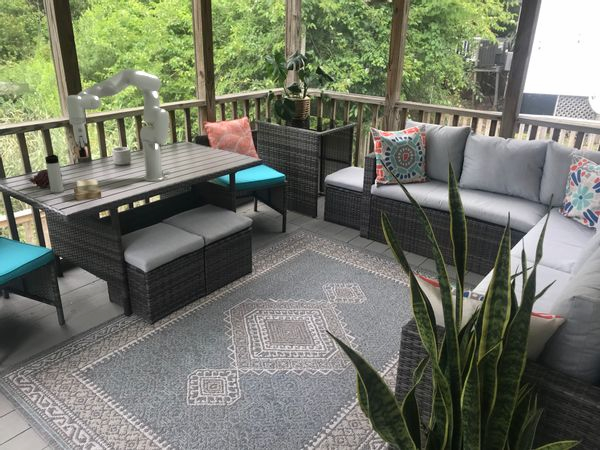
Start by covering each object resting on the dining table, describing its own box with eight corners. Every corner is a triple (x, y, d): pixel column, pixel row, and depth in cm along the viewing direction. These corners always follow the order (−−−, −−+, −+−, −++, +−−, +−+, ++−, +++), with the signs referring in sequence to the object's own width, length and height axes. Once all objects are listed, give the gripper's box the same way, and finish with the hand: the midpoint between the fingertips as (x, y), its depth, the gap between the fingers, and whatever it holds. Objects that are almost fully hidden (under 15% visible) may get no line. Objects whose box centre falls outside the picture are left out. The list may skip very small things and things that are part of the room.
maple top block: (97, 186, 264) (96, 179, 262) (98, 191, 255) (97, 184, 254) (77, 187, 260) (76, 180, 258) (78, 193, 251) (77, 186, 250)
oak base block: (98, 192, 266) (97, 185, 265) (101, 198, 257) (100, 191, 255) (74, 195, 261) (73, 188, 259) (77, 201, 251) (76, 194, 250)
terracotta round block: (87, 155, 254) (86, 145, 252) (89, 157, 249) (87, 148, 248) (76, 156, 251) (74, 146, 250) (77, 158, 247) (75, 149, 245)
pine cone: (59, 181, 281) (56, 164, 277) (67, 185, 275) (65, 168, 271) (27, 188, 268) (24, 170, 264) (35, 192, 262) (32, 174, 258)
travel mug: (66, 190, 267) (60, 154, 259) (61, 193, 261) (54, 157, 253) (54, 189, 266) (48, 154, 259) (49, 193, 260) (42, 157, 253)
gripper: (87, 123, 238) (92, 159, 245) (83, 117, 252) (87, 151, 259) (71, 124, 235) (76, 160, 242) (67, 118, 249) (72, 152, 255)
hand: (82, 155), depth 250 cm, fingers closed on terracotta round block, 5 cm apart
